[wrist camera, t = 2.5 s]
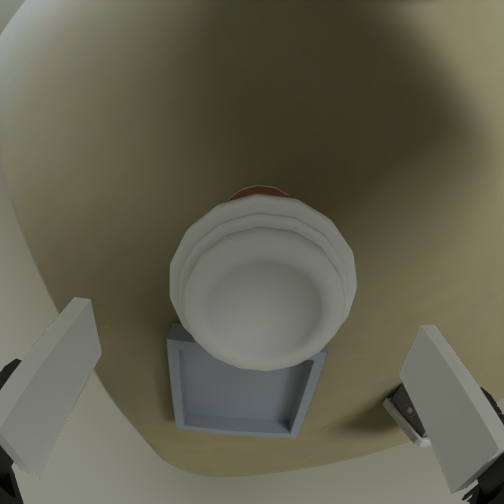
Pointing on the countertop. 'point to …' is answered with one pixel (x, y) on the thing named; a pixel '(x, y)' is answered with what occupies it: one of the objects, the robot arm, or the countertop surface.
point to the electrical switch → (406, 416)
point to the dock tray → (237, 392)
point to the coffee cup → (262, 280)
